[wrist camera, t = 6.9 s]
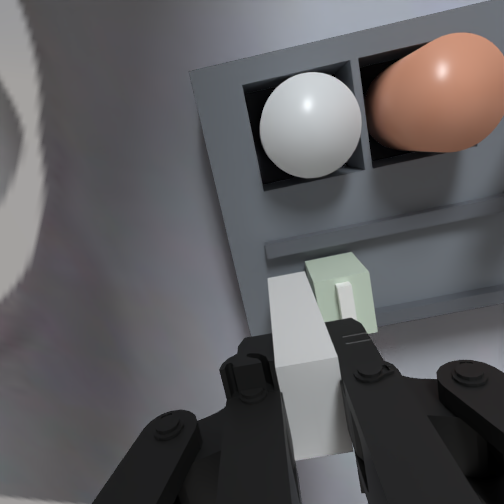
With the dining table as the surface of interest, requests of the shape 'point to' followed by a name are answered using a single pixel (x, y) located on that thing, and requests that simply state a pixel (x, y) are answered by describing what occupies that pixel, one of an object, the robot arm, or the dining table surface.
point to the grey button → (310, 125)
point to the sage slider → (342, 289)
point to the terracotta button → (438, 96)
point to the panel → (361, 185)
